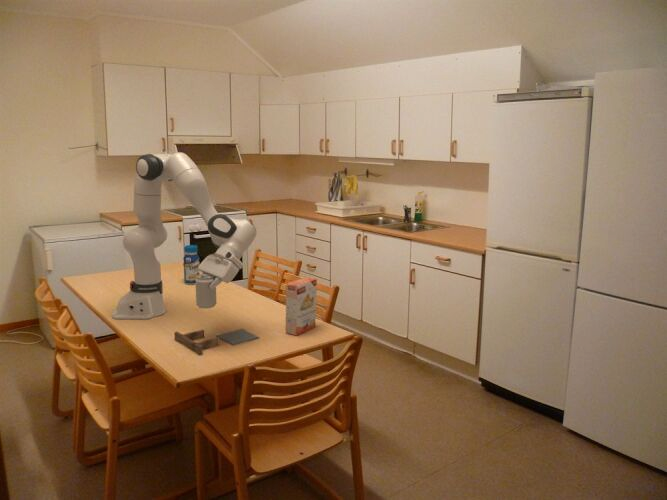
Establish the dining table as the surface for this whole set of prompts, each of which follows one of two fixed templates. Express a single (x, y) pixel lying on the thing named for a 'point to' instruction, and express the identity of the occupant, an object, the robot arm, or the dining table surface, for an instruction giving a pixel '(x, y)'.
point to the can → (205, 291)
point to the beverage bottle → (191, 264)
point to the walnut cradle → (196, 346)
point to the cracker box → (300, 305)
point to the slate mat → (237, 336)
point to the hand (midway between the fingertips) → (204, 285)
